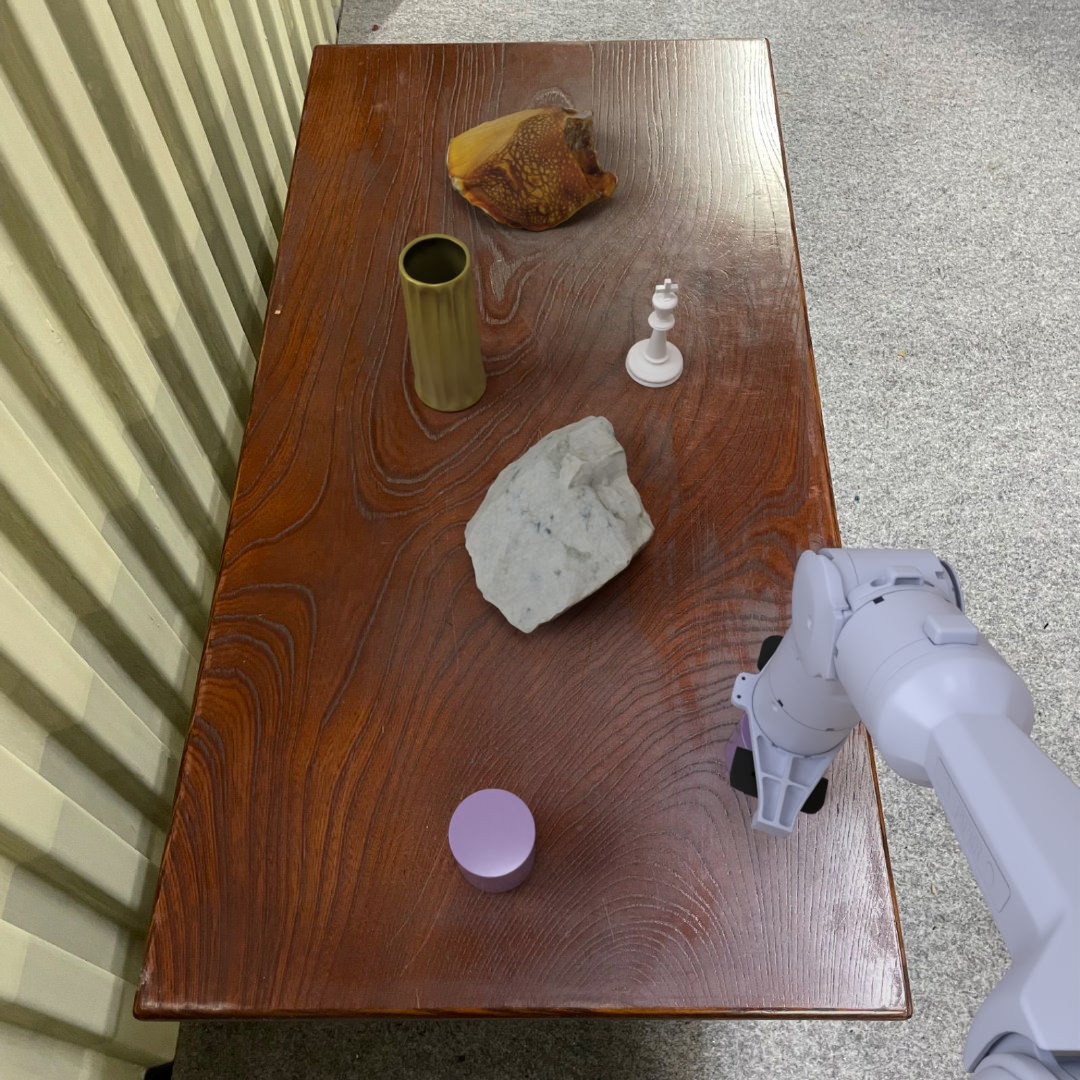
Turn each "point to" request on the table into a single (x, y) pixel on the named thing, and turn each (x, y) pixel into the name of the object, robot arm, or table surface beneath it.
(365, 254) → the table surface
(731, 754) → the purple round peg
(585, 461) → the rock
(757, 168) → the table surface
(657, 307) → the chess piece
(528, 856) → the lavender cylinder post
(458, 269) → the vase
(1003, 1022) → the robot arm
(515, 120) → the seashell
